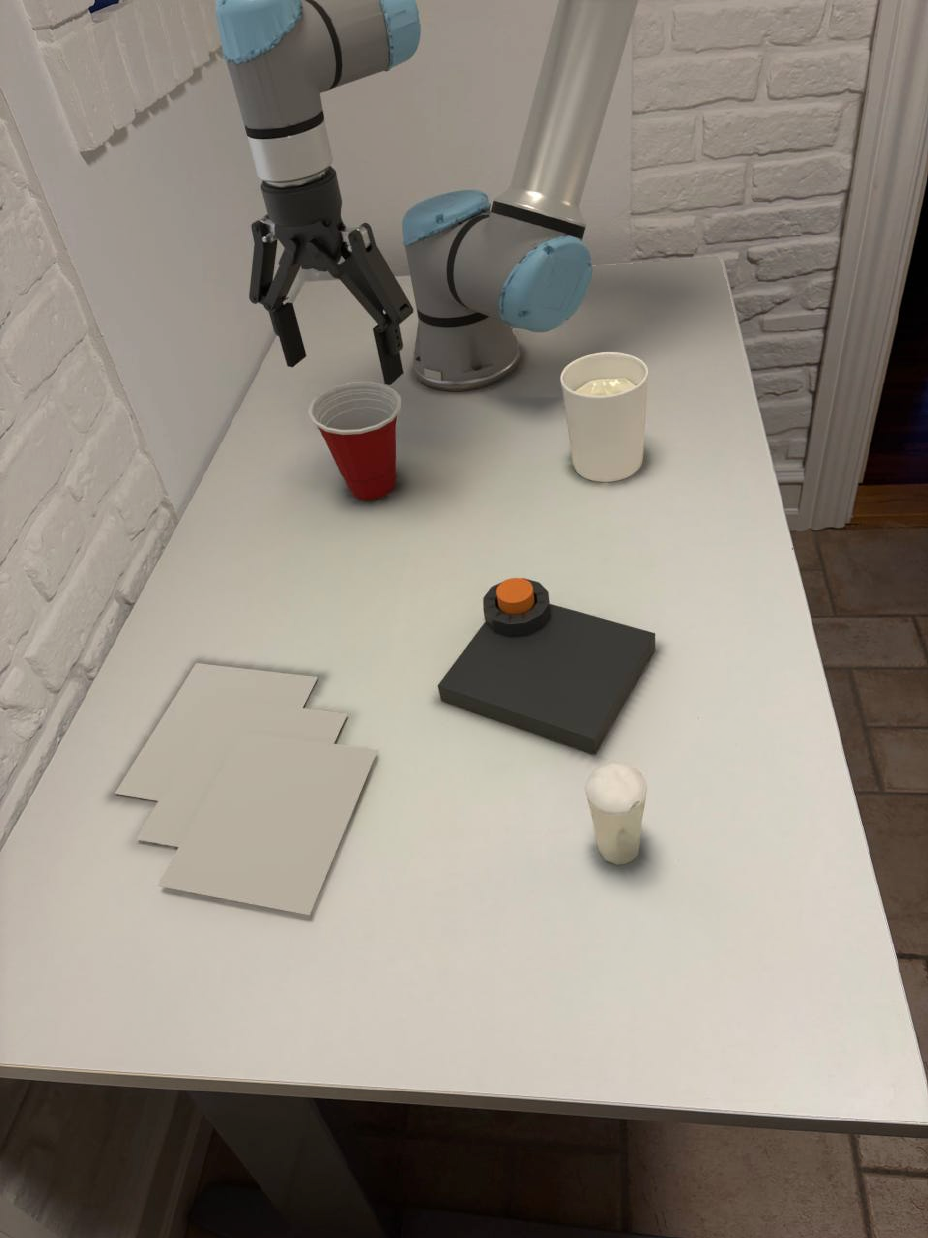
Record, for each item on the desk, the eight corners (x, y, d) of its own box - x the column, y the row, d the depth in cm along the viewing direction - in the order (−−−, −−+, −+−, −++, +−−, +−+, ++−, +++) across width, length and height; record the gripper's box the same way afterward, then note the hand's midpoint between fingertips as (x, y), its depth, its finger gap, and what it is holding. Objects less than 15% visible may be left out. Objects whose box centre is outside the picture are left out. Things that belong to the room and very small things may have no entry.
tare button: (508, 587, 96) (507, 574, 95) (540, 596, 94) (539, 582, 93) (491, 610, 94) (489, 597, 93) (524, 619, 92) (522, 606, 91)
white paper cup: (610, 496, 110) (606, 406, 102) (550, 466, 116) (542, 379, 108) (666, 457, 114) (666, 367, 106) (605, 430, 120) (601, 343, 112)
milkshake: (613, 890, 74) (609, 815, 67) (580, 838, 78) (572, 762, 71) (664, 865, 75) (664, 789, 68) (628, 815, 79) (626, 738, 72)
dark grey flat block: (506, 600, 100) (502, 572, 97) (658, 644, 92) (658, 614, 90) (434, 698, 91) (427, 670, 89) (594, 755, 84) (592, 725, 81)
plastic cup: (406, 514, 113) (386, 428, 105) (321, 513, 116) (295, 429, 108) (427, 461, 121) (410, 377, 113) (346, 461, 123) (324, 379, 115)
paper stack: (65, 872, 82) (62, 867, 82) (196, 663, 99) (194, 658, 99) (311, 919, 76) (309, 915, 75) (407, 687, 93) (405, 682, 92)
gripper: (424, 165, 89) (455, 369, 104) (225, 153, 101) (279, 339, 115) (380, 195, 85) (419, 404, 99) (177, 180, 96) (239, 369, 111)
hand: (344, 370), depth 107 cm, fingers open, 13 cm apart
